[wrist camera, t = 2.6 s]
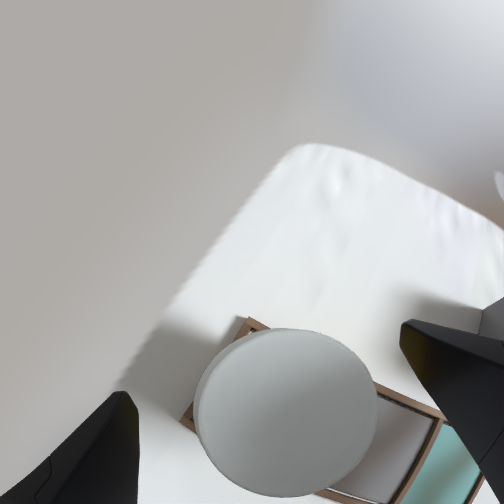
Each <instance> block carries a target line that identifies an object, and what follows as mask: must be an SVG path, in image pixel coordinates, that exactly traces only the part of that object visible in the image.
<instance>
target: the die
mask: <svg viewBox="0 0 504 504" xmlns="http://www.w3.org/2000/svg"><path fill="white" fill-rule="evenodd" d="M479 335H482V336H486V337H490V338H495V339H499V340H504V297H503V298H502V299H500V300H498V301H497V302H495V303H493V304H492V305H490V306H488V307H487V308H485V309H483V314H482V320H481V325H480V330H479Z"/></svg>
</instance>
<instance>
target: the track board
mask: <svg viewBox="0 0 504 504" xmlns="http://www.w3.org/2000/svg"><path fill="white" fill-rule="evenodd" d="M251 329H254V330H256V331H262V330H267V329H271V328H269V327H267V326H265V325H263V324H262V323H260V322H258V321H256V320H255V319H253V318H251V317H248V319H247V320H246V322H245V323H244V325H243V327H242V328H241V330H240V331H239V333H238V334H237V336H236V337H235V339H234V340H233V342H234V341H236V340H238V339H240V338H242V337H244V336H246V335H248V333H249V332H250V330H251ZM233 342H232V343H233ZM373 382H374V381H373ZM374 385H375V388H376V391H377V393H379V394H381V395H383V396H385V397H387V398H390V399H392V400H394V401H396V402H399V403H401V404H403V405H406V406H408V407H410V408H413V409H415V410H417V411H420V412H422V413H425V414H427V415H430V416H432V417H435V418H436V419H435V421H434V420H432V419H430V418H427V417H425V416H422V415H420V414H418V413H415V412H413V411H410V410H408V409H406V408H403V407H401V406H399V405H396V404H394V403H392V402H389V401H387V400H385V399H383V398H380V397H378V405H379V415H378V423H377V428H376V432H375V435H374V438H373V440H372V443H371V444H370V447H369V449H368V451H367V452H366V454H365V455H364V457H363V458H362V460H361V461H360V462H359V464H358V465H357V466H356V467H355V468H354V469H353V470H352V471H351V472H350V473H349V474H347V475H346V476H345V477H344V478H342V479H341V480H340V481H338V482H337V483H335V484H333V485H331V486H330V487H331V488H334V489H337V490H339V491H342V492H345V493H348V494H352V495H355V496H358V497H361V498H365V499H368V500H372V501H376V502H379V503H383V504H388V503H389V502H390V500H391V499H392V497H393V496H394V494H395V493H396V491H397V490H398V488H399V486H400V485H401V483H402V482H403V483H402V485H401V486H400V488H399V490H398V491H397V493H396V494H395V496H394V497H393V499H392V500H391V502H390V503H389V504H472V502H473V500H474V499H475V497H476V495H477V493H478V491H479V489H480V488H481V486H482V484H483V482H484V480H485V477H484V475H483V474H482V472H481V471H480V469H479V467H478V465H477V464H476V462H475V461H474V459H473V458H472V456H471V455H470V453H469V452H468V450H467V448H466V447H465V445H464V444H463V442H462V441H461V439H460V438H459V436H458V435H457V433H456V432H455V430H454V429H453V428H452V427H451V426H448V425H445V424H443V422H444V421H445V422H447V423H449V422H448V420H447V419H446V417H445V416H444V415H443V413H442V412H441V411H439V410H437V409H434V408H432V407H430V406H427V405H425V404H423V403H420V402H418V401H416V400H413V399H411V398H409V397H407V396H404V395H402V394H400V393H398V392H395V391H393V390H391V389H389V388H387V387H385V386H382V385H380V384H378V383H376V382H374ZM193 404H194V401H193V402H192V404H191V405H190V407H189V408H188V410H187V411H186V413H185V414H184V415H183V417H182V418H181V420H180V421H179V422H180V423H182V424H183V425H185V426H186V427H188V428H189V429H191V430H192V431H194V432H195V433H197V432H196V429H195V424H194V421H193V420H192V418H193ZM433 422H434V424H433ZM432 424H433V426H432ZM431 426H432V428H431ZM430 428H431V430H430ZM429 431H430V432H429ZM428 433H429V435H428ZM427 435H428V437H427ZM426 437H427V439H426ZM425 439H426V441H425ZM424 441H425V443H424ZM423 443H424V445H423ZM422 445H423V447H422ZM421 447H422V449H421ZM420 449H421V451H420ZM419 451H420V453H419ZM418 453H419V455H418ZM417 455H418V457H417ZM416 457H417V459H416ZM415 459H416V460H415ZM414 461H415V462H414ZM413 462H414V464H413ZM412 464H413V466H412ZM411 466H412V468H411ZM410 468H411V469H410ZM409 470H410V471H409ZM408 471H409V473H408ZM407 473H408V475H407ZM406 475H407V476H406ZM405 476H406V478H405ZM404 478H405V480H404ZM403 480H404V481H403ZM315 494H318V495H321V496H323V497H326V498H329V499H332V500H335V501H338V502H341V503H344V504H374V503H370V502H366V501H363V500H359V499H356V498H353V497H349V496H346V495H343V494H340V493H337V492H334V491H332V490H329V489H326V488H325V489H323V490H321V491H318V492H316V493H315Z"/></svg>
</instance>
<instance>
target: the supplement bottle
mask: <svg viewBox="0 0 504 504" xmlns="http://www.w3.org/2000/svg"><path fill="white" fill-rule="evenodd" d="M378 415H379V405H378V395H377V391H376V388H375V385H374V382H373V380H372V377H371V375H370V373H369V371H368V369H367V368H366V366H365V365H364V363H363V362H362V361H361V360H360V358H359V357H358V356H357V355H356V354H355V353H354V352H353V351H351V350H350V349H349V348H348V347H346V346H345V345H344V344H342V343H341V342H339V341H337V340H335V339H333V338H331V337H329V336H326V335H324V334H321V333H317V332H314V331H308V330H299V329H287V328H275V329H267V330H262V331H258V332H254V333H251V334H249V335H246V336H244V337H242V338H240V339H238V340H236V341H234V342H233V343H231V344H229V345H228V346H227V347H225V348H224V349H223V350H222V351H221V352H220V353H218V354H217V355H216V356H215V357H214V359H213V360H212V361H211V362H210V363H209V365H208V366H207V368H206V369H205V371H204V373H203V374H202V376H201V378H200V381H199V383H198V386H197V389H196V392H195V397H194V404H193V417H194V424H195V429H196V432H197V435H198V438H199V440H200V442H201V445H202V446H203V448H204V450H205V452H206V454H207V456H208V457H209V459H210V460H211V462H212V463H213V464H214V466H215V467H216V468H217V469H218V470H219V471H220V472H221V473H222V474H223V475H224V476H225V477H226V478H227V479H229V480H230V481H232V482H233V483H235V484H236V485H238V486H240V487H242V488H244V489H246V490H248V491H251V492H253V493H257V494H260V495H264V496H269V497H280V498H284V497H299V496H305V495H309V494H312V493H316V492H318V491H321V490H323V489H325V488H328V487H330V486H331V485H333V484H335V483H337V482H338V481H340V480H341V479H342V478H344V477H345V476H346V475H347V474H349V473H350V472H351V471H352V470H353V469H354V468H355V467H356V466H357V465H358V464H359V462H360V461H361V460H362V458H363V457H364V455H365V454H366V452H367V451H368V449H369V447H370V444H371V443H372V440H373V438H374V435H375V432H376V428H377V423H378Z"/></svg>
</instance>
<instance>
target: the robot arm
mask: <svg viewBox="0 0 504 504" xmlns="http://www.w3.org/2000/svg"><path fill="white" fill-rule="evenodd" d="M399 344H400V348H401V350H402V352H403V354H404V355H405V357H406V359H407V360H408V362H409V364H410V365H411V367H412V369H413V371H414V372H415V374H416V376H417V378H418V379H419V381H420V382H421V384H422V385H423V387H424V388H425V389H426V391H427V392H428V393H429V395H430V396H431V398H432V399H433V400H434V402H435V403H436V405H437V406H438V407H439V409H440V410H441V412H442V413H443V415H444V416H445V417H446V419H447V420H448V422H449V423H450V425H451V426H452V428H453V429H454V430H455V432H456V433H457V435H458V436H459V438H460V439H461V441H462V442H463V444H464V445H465V447H466V448H467V450H468V452H469V453H470V455H471V456H472V458H473V459H474V461H475V462H476V464H477V465H478V467H479V469H480V471H481V472H482V474H483V475H484V477H485V479H486V480H487V482H488V484H489V485H490V487H491V489H492V490H493V492H494V494H495V495H496V497H497V499H498V501H499V502H500V504H504V340H499V339H495V338H490V337H486V336H482V335H477V334H473V333H469V332H464V331H460V330H456V329H452V328H448V327H443V326H439V325H435V324H431V323H427V322H423V321H419V320H415V319H410V320H408V321H406V322H403V323H402V325H401V332H400V341H399ZM139 459H140V444H139V413H138V409H137V407H136V406H135V404H134V402H133V401H132V399H131V397H130V396H129V394H128V393H127V392H126V391H117V392H114V393H112V394H111V395H110V396H109V397H108V398H107V399H106V400H105V401H104V402H103V403H102V404H101V405H100V406H99V407H98V408H97V409H96V410H95V411H94V412H93V413H92V414H91V415H90V416H89V417H88V418H87V419H86V420H85V421H84V422H83V423H82V424H81V425H80V426H79V427H78V428H77V429H76V430H75V431H74V432H73V433H72V434H71V435H70V436H69V437H68V438H67V439H66V440H65V441H64V442H63V443H61V445H59V446H58V447H57V449H55V450H54V451H53V452H52V453H51V454H50V456H48V457H47V458H46V459H45V460H44V461H43V462H42V463H41V464H40V465H39V466H38V467H37V468H36V469H35V470H33V471H32V472H31V473H30V474H29V475H27V476H26V477H25V478H24V479H23V480H21V481H20V482H19V483H17V484H16V485H15V486H14V487H12V488H11V489H10V490H8V491H7V492H6V493H5V494H3V495H2V496H0V504H137V499H138V475H139Z"/></svg>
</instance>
